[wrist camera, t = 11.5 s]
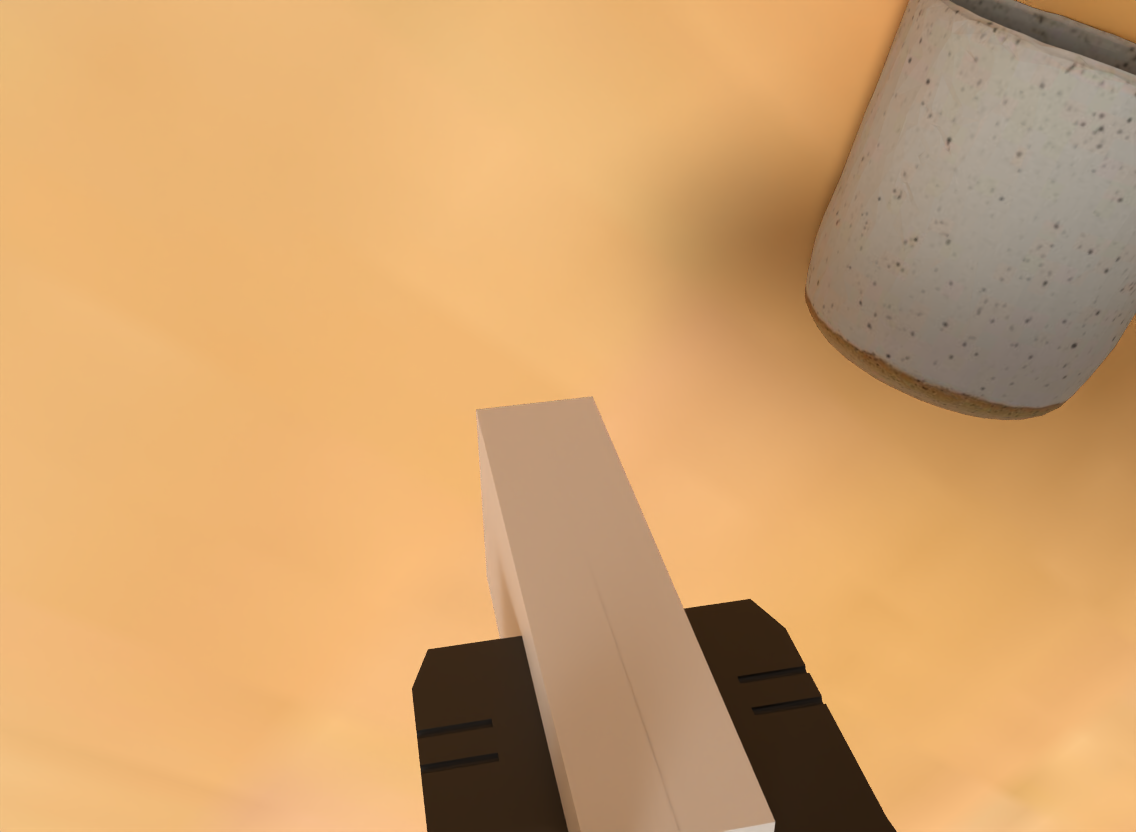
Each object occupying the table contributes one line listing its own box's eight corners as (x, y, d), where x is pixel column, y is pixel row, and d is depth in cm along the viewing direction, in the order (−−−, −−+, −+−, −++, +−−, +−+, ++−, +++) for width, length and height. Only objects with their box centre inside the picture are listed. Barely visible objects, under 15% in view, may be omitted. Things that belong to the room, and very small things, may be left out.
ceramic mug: (745, 278, 29) (873, 434, 23) (858, -43, 25) (1051, 37, 19) (1066, 327, 32) (1256, 475, 26) (1211, 49, 28) (1476, 144, 22)
